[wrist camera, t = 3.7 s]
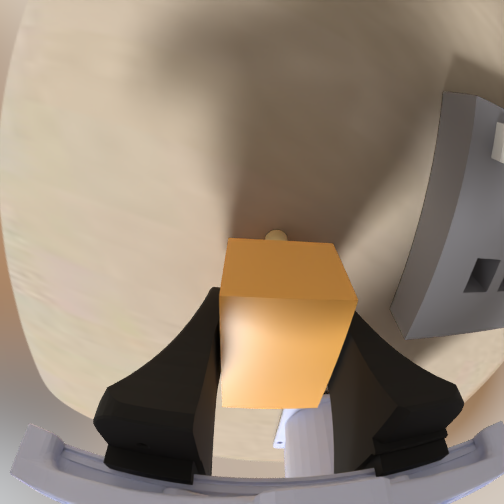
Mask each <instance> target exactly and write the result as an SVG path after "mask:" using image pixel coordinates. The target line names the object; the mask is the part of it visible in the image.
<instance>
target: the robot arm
mask: <svg viewBox="0 0 504 504" xmlns="http://www.w3.org/2000/svg"><path fill="white" fill-rule="evenodd" d="M219 293H220V287H212V288H211V289H210V291H209V293H208V295H207V297H206V298H205V300H204V301H203V303H202V305H201V306H200V308H199V309H198V310H197V312H196V313H195V315H194V316H193V317H192V319H191V320H190V321H189V322H188V324H187V325H186V326H185V327H184V329H183V330H182V331H181V332H180V333H179V334H178V335H177V337H176V338H175V339H174V340H173V341H172V342H171V343H170V344H169V345H168V346H167V347H166V348H165V349H163V350H162V351H161V352H160V353H159V354H158V355H157V356H155V357H154V358H153V359H152V360H150V361H149V362H148V363H146V364H145V365H144V366H142V367H141V368H139V369H138V370H137V371H135V372H134V373H132V374H131V375H129V376H127V377H126V378H124V379H122V380H120V381H119V382H117V383H115V384H113V385H111V386H109V387H107V389H106V391H105V393H104V395H103V397H102V398H101V400H100V403H99V405H98V408H97V411H96V414H95V417H94V419H93V424H94V426H95V427H96V429H97V431H98V432H99V433H100V435H102V437H103V438H104V440H105V441H106V442H107V443H108V447H107V451H106V455H105V456H102V455H98V454H94V453H92V452H88V451H85V450H82V449H79V448H76V447H73V446H70V445H68V444H65V443H64V442H63V440H62V439H61V438H60V437H59V436H57V435H56V434H54V433H53V432H51V431H48V430H46V429H43V428H41V427H39V426H36V425H34V424H32V423H29V424H28V427H27V429H26V431H25V434H24V436H23V439H22V441H21V444H20V446H19V449H18V451H17V454H16V457H15V459H14V462H13V465H12V467H11V470H10V474H11V475H12V476H14V477H15V478H17V479H18V480H20V481H22V482H23V483H25V484H26V485H28V486H29V487H31V488H33V489H34V490H36V491H38V492H39V493H41V494H43V495H45V496H47V497H49V498H51V499H53V500H55V501H57V502H60V503H62V504H450V503H452V502H454V501H457V500H459V499H461V498H463V497H465V496H467V495H469V494H471V493H473V492H475V491H477V490H479V489H481V488H482V487H484V486H486V485H488V484H489V483H491V482H492V481H494V480H495V479H497V478H498V477H500V476H501V475H503V474H504V424H503V422H502V421H500V422H498V423H495V424H493V425H491V426H488V427H486V428H485V429H483V430H482V431H480V432H479V433H478V434H477V435H476V436H475V437H474V438H473V439H471V440H468V441H466V442H463V443H460V444H458V445H455V446H452V447H449V448H447V445H446V442H445V439H444V438H446V437H447V435H448V434H447V431H446V427H447V426H448V425H449V424H450V423H451V422H452V421H453V420H454V419H455V418H456V417H457V416H458V415H459V413H460V412H461V411H462V408H463V406H464V401H463V399H462V397H461V395H460V392H459V390H458V388H457V386H456V385H455V384H453V383H451V382H449V381H446V380H444V379H442V378H440V377H437V376H435V375H434V374H432V373H430V372H428V371H426V370H425V369H423V368H421V367H420V366H418V365H416V364H415V363H413V362H412V361H410V360H409V359H407V358H406V357H404V356H403V355H402V354H400V353H399V352H398V351H396V350H395V349H394V348H393V347H392V346H390V345H389V344H388V343H387V342H386V341H384V340H383V339H382V338H381V337H380V336H379V335H378V334H377V333H376V332H375V331H374V330H373V329H372V328H371V327H370V326H369V325H368V324H367V323H366V322H365V321H364V320H363V319H362V318H361V317H360V315H359V314H358V313H357V312H356V311H355V312H354V315H353V318H352V320H351V323H350V326H349V329H348V332H347V335H346V338H345V340H344V343H343V346H342V349H341V351H340V354H339V357H338V359H337V362H336V364H335V367H334V369H333V372H332V374H331V377H330V379H329V382H328V384H327V385H328V389H329V394H323V396H322V398H321V401H320V403H319V405H318V408H300V409H283V411H282V415H281V418H280V422H279V425H278V429H277V432H276V435H275V439H274V442H273V447H274V448H284V461H285V478H234V477H218V476H211V474H212V453H213V436H214V422H215V408H216V396H217V389H218V384H219V379H220V374H221V356H220V316H219Z"/></svg>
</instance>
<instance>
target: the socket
mask: <svg viewBox="0 0 504 504" xmlns="http://www.w3.org/2000/svg"><path fill="white" fill-rule="evenodd" d="M390 311H391V313H392V315H393V317H394V319H395V321H396V323H397V325H398V327H399V329H400V331H401V333H402V335H403V337H404V339H405V340H408V339H420V338H431V337H440V336H449V335H457V334H465V333H472V332H479V331H486V330H492V329H498V328H504V109H503V108H501V107H499V106H497V105H495V104H493V103H491V102H489V101H487V100H485V99H483V98H481V97H479V96H477V95H470V94H463V93H454V92H445V91H443V99H442V108H441V116H440V124H439V131H438V137H437V143H436V149H435V155H434V160H433V165H432V170H431V175H430V180H429V184H428V189H427V193H426V197H425V201H424V205H423V209H422V213H421V217H420V220H419V224H418V227H417V231H416V234H415V238H414V241H413V244H412V248H411V251H410V254H409V257H408V260H407V263H406V266H405V269H404V272H403V275H402V278H401V281H400V283H399V286H398V289H397V292H396V294H395V297H394V300H393V302H392V305H391V307H390Z"/></svg>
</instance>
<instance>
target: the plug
mask: <svg viewBox="0 0 504 504" xmlns="http://www.w3.org/2000/svg"><path fill="white" fill-rule="evenodd" d="M357 302H358V298H357V296H356V294H355V291H354V289H353V287H352V285H351V282H350V280H349V278H348V275H347V273H346V271H345V269H344V267H343V264H342V262H341V260H340V258H339V256H338V253H337V251H336V249H335V247H334V245H333V243H317V242H299V241H288V240H287V236H286V234H285V233H284V232H283V231H281V230H272V231H270V232H269V233H268V234H267V235H266V237H265V240H262V239H243V238H228V244H227V250H226V256H225V262H224V268H223V275H222V281H221V287H220V293H219V316H220V356H221V385H222V407H231V408H255V409H300V408H318V405H319V403H320V401H321V398H322V396H323V394H324V391H325V389H326V387H327V384H328V382H329V379H330V377H331V374H332V372H333V369H334V367H335V364H336V362H337V359H338V357H339V354H340V351H341V349H342V346H343V343H344V340H345V338H346V335H347V332H348V329H349V326H350V323H351V320H352V318H353V315H354V312H355V308H356V305H357Z"/></svg>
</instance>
